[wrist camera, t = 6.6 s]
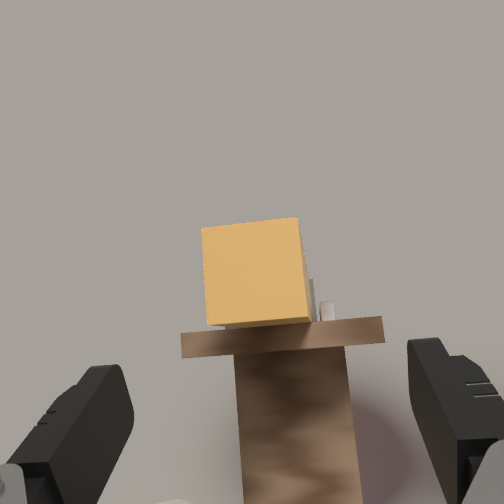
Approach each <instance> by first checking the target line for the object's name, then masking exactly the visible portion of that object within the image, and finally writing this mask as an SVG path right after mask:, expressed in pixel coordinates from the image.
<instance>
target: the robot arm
mask: <svg viewBox="0 0 504 504" xmlns="http://www.w3.org/2000/svg"><path fill="white" fill-rule="evenodd" d="M407 353H408V378H409V394H410V401H411V405H412V410H413V413H414V416H415V419H416V421H417V424H418V427H419V429H420V432H421V435H422V437H423V440H424V443H425V445H426V448H427V451H428V454H429V456H430V459H431V462H432V464H433V467H434V469H435V472H436V475H437V478H438V480H439V483H440V485H441V488H442V491H443V493H444V496H445V499H446V502H447V504H504V401H503V399H502V398H501V396H499V395H498V392H497V391H496V389H495V388H494V386H493V385H492V384H491V383H490V380H489V379H488V378H487V376H486V374H485V373H484V371H483V370H482V368H481V367H480V366H478V365H477V364H476V363H474V362H473V361H471V360H469V359H468V358H467V357H465V356H464V355H460V356H449V354H448V353H447V351H446V349H445V347H444V346H443V344H442V342H441V341H440V339H439V338H425V339H414V340H408V343H407ZM133 424H134V410H133V406H132V402H131V399H130V396H129V393H128V389H127V385H126V382H125V379H124V375H123V372H122V370H121V367H120V366H119V365H117V364H115V365H103V366H92V367H90V368H89V369H88V370H87V371H86V373H85V374H84V375H83V377H82V378H81V379H80V381H79V382H78V383H77V385H73V386H72V387H70V388H69V389H68V390H67V391H66V392H64V393H63V394H62V395H60V396H59V397H58V398H57V399H56V400H55V401H54V403H53V404H52V405H51V406H50V408H49V409H48V410H47V412H46V414H44V415H43V416H42V418H41V419H40V420H39V422H38V423H37V426H35V427H34V428H33V429H32V431H31V432H30V433H29V434H28V436H27V437H26V438H25V439H24V441H23V442H22V443H21V445H20V446H19V447H18V449H17V450H16V451H15V452H14V454H13V455H12V456H11V458H10V459H9V460H8V461H7V463H6V464H2V465H0V504H97V502H98V500H99V498H100V496H101V494H102V491H103V489H104V487H105V485H106V483H107V481H108V479H109V477H110V475H111V473H112V471H113V469H114V467H115V465H116V463H117V461H118V458H119V456H120V454H121V452H122V450H123V448H124V446H125V444H126V442H127V440H128V438H129V436H130V434H131V431H132V428H133Z"/></svg>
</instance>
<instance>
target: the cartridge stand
mask: <svg viewBox="0 0 504 504" xmlns="http://www.w3.org/2000/svg"><path fill="white" fill-rule="evenodd" d="M225 329H226V330H214V331H203V332H191V333H181V350H182V358H193V357H207V356H220V355H231V354H233V355H234V367H235V368H234V369H235V383H236V397H237V412H238V426H239V439H240V454H241V468H242V482H243V496H244V504H363V500H362V492H361V484H360V475H359V467H358V458H357V450H356V442H355V433H354V425H353V417H352V408H351V400H350V392H349V384H348V376H347V367H346V359H345V350H344V346H348V345H361V344H374V343H385V338H384V331H383V324H382V317H381V316H377V317H365V318H354V319H342V320H335V315H334V306H333V301H325V302H320V321H319V322H307V323H296V324H284V325H272V326H261V327H249V328H240V327H225Z"/></svg>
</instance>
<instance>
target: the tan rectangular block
mask: <svg viewBox="0 0 504 504" xmlns="http://www.w3.org/2000/svg"><path fill="white" fill-rule="evenodd" d="M202 245H203V262H204V277H205V278H204V279H205V294H206V295H205V296H206V310H207V312H206V313H207V325H211V326H225V327H240V328H249V327H261V326H272V325H284V324H296V323H307V322H317V316H316V306H315V297H314V288H313V279H309V276H308V272H307V265H306V260H305V255H304V250H303V244H302V239H301V233H300V228H299V223H298V217H292V218H283V219H275V220H267V221H259V222H250V223H241V224H233V225H225V226H216V227H207V228H202Z"/></svg>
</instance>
